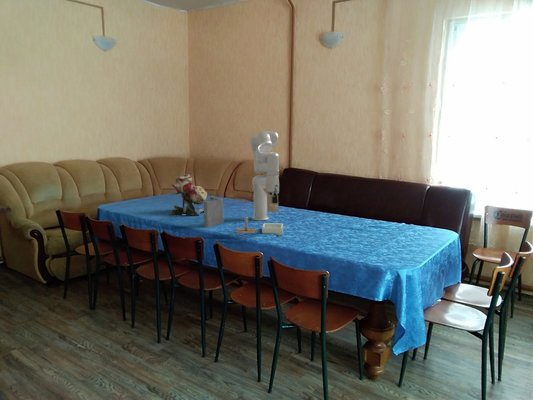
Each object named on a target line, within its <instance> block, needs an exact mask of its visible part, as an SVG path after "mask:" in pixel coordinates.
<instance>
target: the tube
mask: <svg viewBox="0 0 533 400" xmlns="http://www.w3.org/2000/svg"><path fill="white" fill-rule="evenodd" d="M272 197H273V195H268V194H267V212H270V213H276V212H279V196H278V197H277V203H272Z"/></svg>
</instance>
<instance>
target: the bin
mask: <svg viewBox="0 0 533 400" xmlns="http://www.w3.org/2000/svg"><path fill="white" fill-rule="evenodd" d="M261 232H262V234H276V236H277V237H282V236H283V234H284V233H283V232H284V223H280V222H279V223H275V222H271V223H270V222H269V223H267V222H265V223H263V225H262V227H261Z"/></svg>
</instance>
